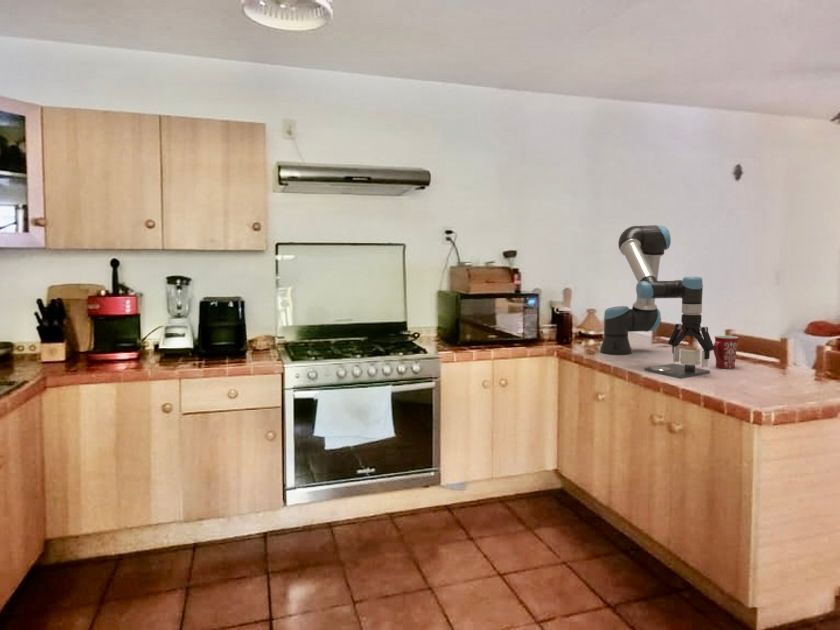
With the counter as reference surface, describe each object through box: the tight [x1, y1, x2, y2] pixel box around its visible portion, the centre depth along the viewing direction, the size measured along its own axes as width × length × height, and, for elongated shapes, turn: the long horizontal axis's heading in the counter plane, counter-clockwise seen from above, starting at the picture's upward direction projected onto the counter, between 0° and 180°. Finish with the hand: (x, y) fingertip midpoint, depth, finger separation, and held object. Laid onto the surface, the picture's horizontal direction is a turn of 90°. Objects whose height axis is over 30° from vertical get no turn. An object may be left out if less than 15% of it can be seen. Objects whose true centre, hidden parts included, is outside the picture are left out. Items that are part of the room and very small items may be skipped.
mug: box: [713, 334, 739, 369], centre depth 242 cm, size 13×9×14 cm
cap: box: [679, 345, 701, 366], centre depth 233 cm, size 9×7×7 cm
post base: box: [644, 363, 711, 379], centre depth 235 cm, size 18×18×9 cm
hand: (690, 364), depth 233 cm, fingers open, 13 cm apart
